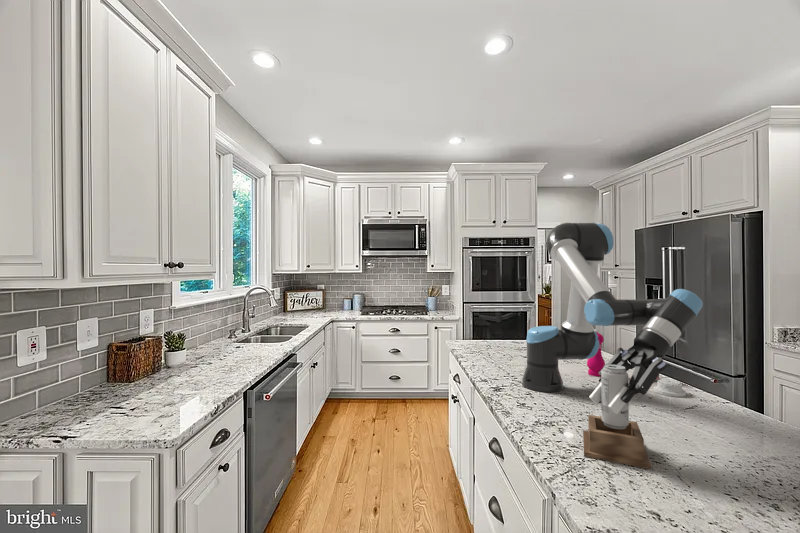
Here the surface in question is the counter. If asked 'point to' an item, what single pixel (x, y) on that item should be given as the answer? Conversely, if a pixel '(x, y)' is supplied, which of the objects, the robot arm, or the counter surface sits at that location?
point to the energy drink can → (613, 395)
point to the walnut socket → (615, 443)
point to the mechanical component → (669, 388)
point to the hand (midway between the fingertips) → (602, 405)
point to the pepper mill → (596, 359)
